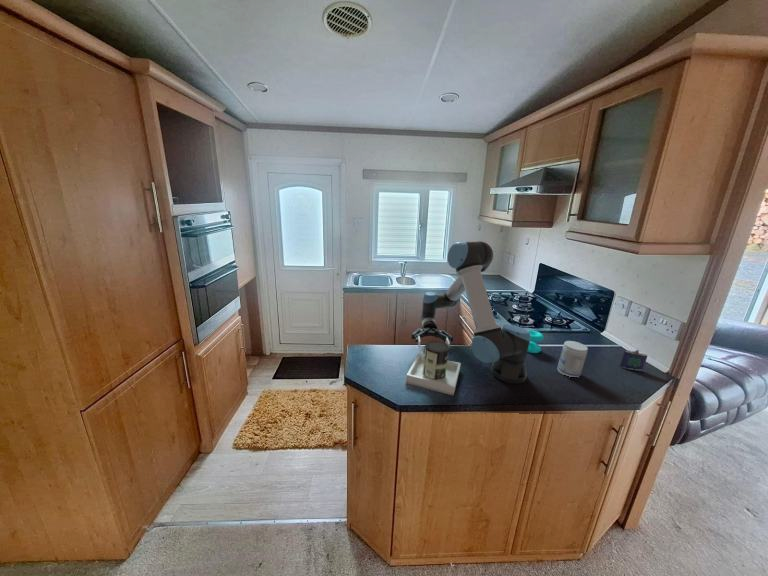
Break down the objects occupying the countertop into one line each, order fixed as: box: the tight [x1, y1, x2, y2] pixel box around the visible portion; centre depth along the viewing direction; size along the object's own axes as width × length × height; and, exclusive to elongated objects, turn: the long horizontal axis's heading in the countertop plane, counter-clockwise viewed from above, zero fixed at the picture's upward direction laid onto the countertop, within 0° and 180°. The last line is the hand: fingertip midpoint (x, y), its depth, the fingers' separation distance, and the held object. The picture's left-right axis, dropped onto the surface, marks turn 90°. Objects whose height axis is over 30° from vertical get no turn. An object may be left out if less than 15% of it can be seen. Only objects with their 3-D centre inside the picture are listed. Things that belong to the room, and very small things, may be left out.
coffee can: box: [423, 340, 450, 381], centre depth 127 cm, size 10×10×14 cm
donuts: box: [526, 329, 545, 354], centre depth 158 cm, size 10×10×10 cm
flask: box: [619, 349, 648, 370], centre depth 143 cm, size 9×3×11 cm, turn 68°
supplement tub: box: [557, 340, 589, 378], centre depth 136 cm, size 10×10×15 cm
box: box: [405, 353, 462, 397], centre depth 129 cm, size 20×20×4 cm
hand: (434, 345), depth 135 cm, fingers open, 13 cm apart
